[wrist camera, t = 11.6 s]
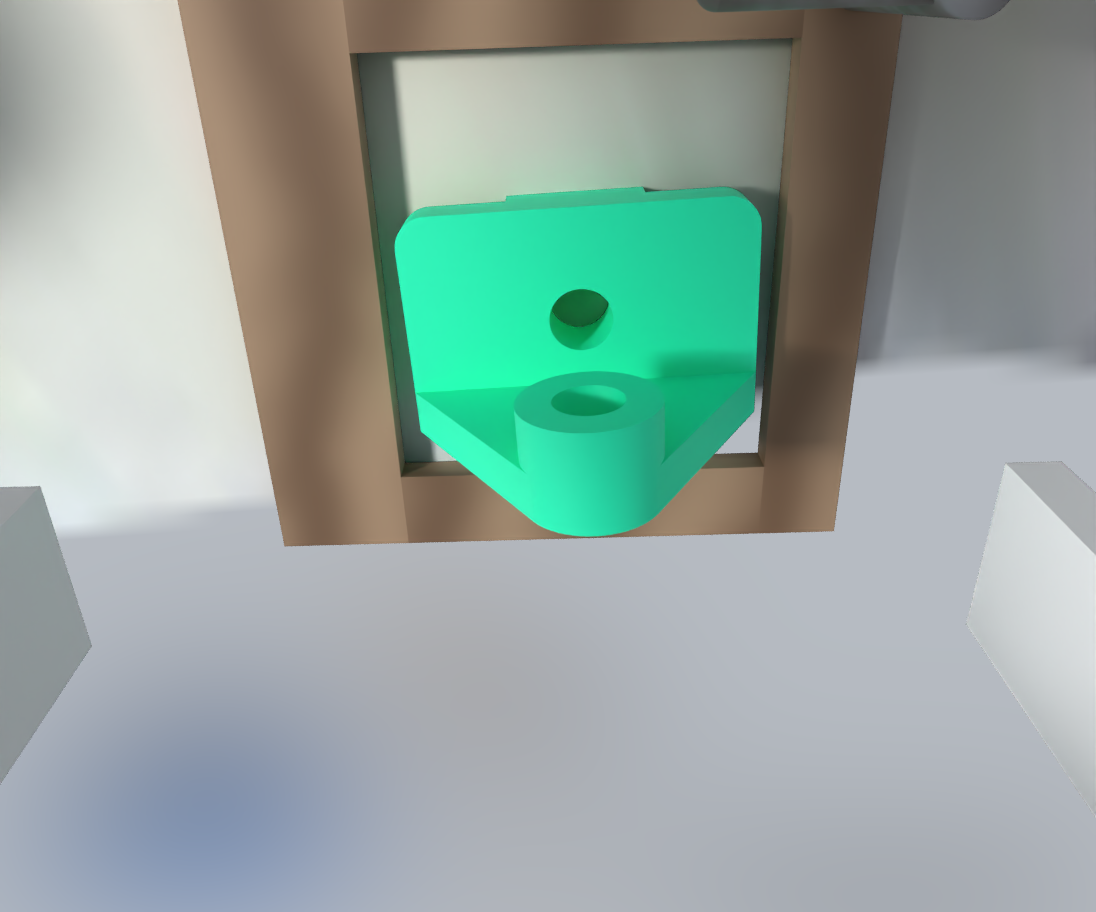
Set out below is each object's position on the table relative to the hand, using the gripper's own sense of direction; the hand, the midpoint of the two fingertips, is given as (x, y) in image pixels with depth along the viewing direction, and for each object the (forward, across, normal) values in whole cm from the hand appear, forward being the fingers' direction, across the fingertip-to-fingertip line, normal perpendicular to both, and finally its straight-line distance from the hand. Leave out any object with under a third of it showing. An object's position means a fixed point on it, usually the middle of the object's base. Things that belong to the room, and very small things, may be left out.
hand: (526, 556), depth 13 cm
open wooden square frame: (+21, +1, -2) cm, 21 cm away
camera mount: (+22, +2, -3) cm, 22 cm away
